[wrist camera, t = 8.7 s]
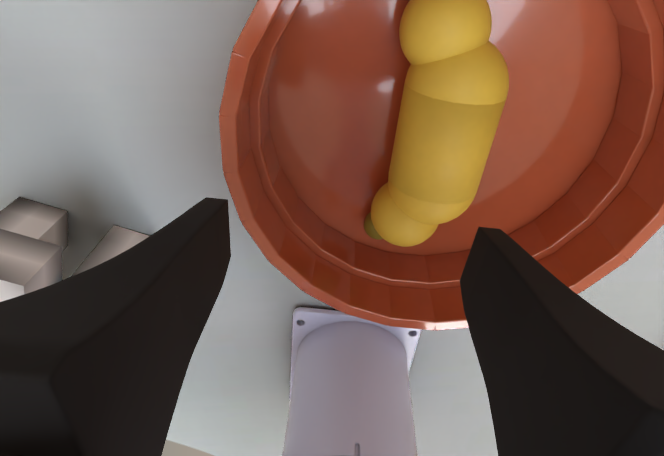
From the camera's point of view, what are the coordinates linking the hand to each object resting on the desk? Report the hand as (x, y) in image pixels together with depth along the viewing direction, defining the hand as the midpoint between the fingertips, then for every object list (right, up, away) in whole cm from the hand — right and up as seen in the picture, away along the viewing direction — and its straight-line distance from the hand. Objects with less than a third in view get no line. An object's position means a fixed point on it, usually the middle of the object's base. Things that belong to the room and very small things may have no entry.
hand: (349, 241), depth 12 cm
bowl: (+4, +5, +7) cm, 10 cm away
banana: (+4, +5, +6) cm, 9 cm away
